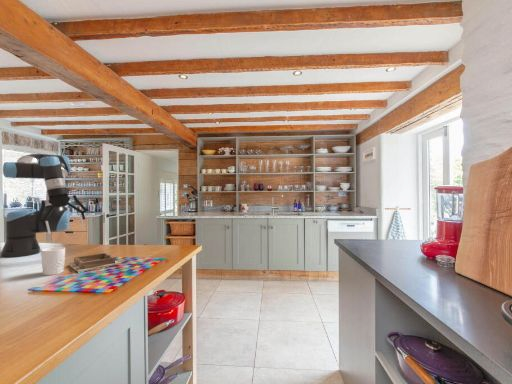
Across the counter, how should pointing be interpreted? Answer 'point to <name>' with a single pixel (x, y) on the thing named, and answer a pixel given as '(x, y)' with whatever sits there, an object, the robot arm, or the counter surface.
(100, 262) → the cup holder
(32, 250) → the robot arm
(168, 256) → the counter surface
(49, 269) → the white cup
